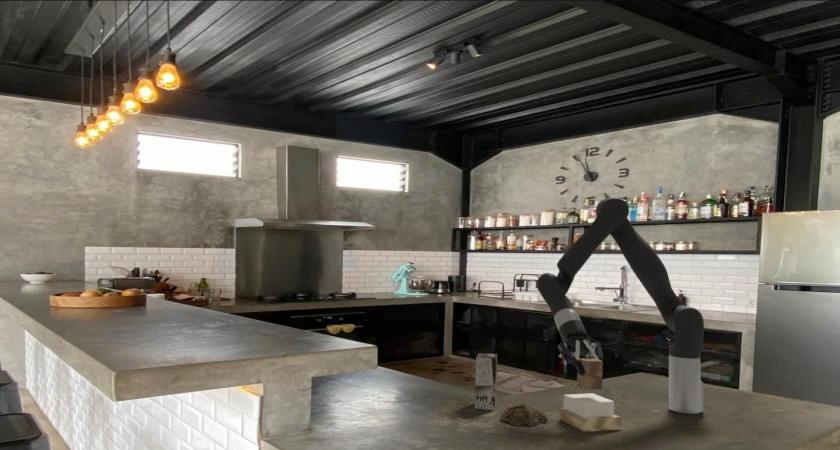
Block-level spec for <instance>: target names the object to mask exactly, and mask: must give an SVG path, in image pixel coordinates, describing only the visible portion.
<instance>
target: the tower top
mask: <svg viewBox="0 0 840 450" xmlns="http://www.w3.org/2000/svg"><path fill="white" fill-rule="evenodd" d="M563 408H564V409H566V410H568V411H570V412H572V413H574V414H577V415H579V416H581V417H583V418H588V417H604V416H614V414H615V401H614V400H612V399H608V398H606V397H603V396H601V395H598V394H596V393H593V392H591V393H576V394H575V393H573V394H572V393H571V394H569V393H568V394H563Z"/></svg>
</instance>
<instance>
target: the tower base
mask: <svg viewBox="0 0 840 450" xmlns="http://www.w3.org/2000/svg"><path fill="white" fill-rule="evenodd" d="M560 421H562V422H563V423H566V424H568V425H570V426H571V427H573V428H575V429H577V430H579V431H581V432H583V433H587V432H588V431H589V432H601V431H602V430H604V431H615V430H617V431H618V430H619V431H620V430H621V429H622V428H621V426H622V417H621V416H620V415H617V414H615V413H614V416H604V417H588V418H583V417H581V416H579V415H577V414H574V413H572V412H570V411H568V410H566V409H564V407H560ZM602 432H603V431H602Z"/></svg>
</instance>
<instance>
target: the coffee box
mask: <svg viewBox="0 0 840 450" xmlns="http://www.w3.org/2000/svg"><path fill="white" fill-rule="evenodd" d="M475 359H476V360H475V385H474V387H475V389H474V390H475V391H474V409H475V410H485V411H495V409H496V406H497V394H498V393H497V392H498V390H497V389H498V388H497V384H498V380H497V379H498V354H497V353H486V352H485V353H481V352H479V353H477V355H476V357H475Z"/></svg>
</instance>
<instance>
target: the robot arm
mask: <svg viewBox="0 0 840 450" xmlns="http://www.w3.org/2000/svg"><path fill="white" fill-rule="evenodd" d="M629 213H630V208H629V205H628V203H627V202H626V201H625V200H624V199H622V198H620V197H608V198H604V199H601V200H600V201H599V202H598V204H597V205H596V209H595V218H594V220H593V222H592V223H591V225H590V226H589V227H588V229H587V230H585V231H584V233H583V234H582V235H581V236H579V238H577V240H576V241H574V243H572V244H571V245H570V247H569V248H568V249H566V251H565V253H564V254H563V255H562V256H561V258H560V259H559V260H558V261H557V263H556V266H557V269H558V273H557V275H555V274H553V273H551V272H544V273H542V274H541V275H540V276H539V277H538V279H537V289H538V292H539V293H540V295H541V296H542V299H543V300H544V302H545V303H546V304H547V306H548V307H549V309H550V312H551V314H552V316H553V319H554V322H555V323H554V324H555V325H556V328H557V331H558V332H559V335H560V337H561V340H562V341H561V342H560V343H559V345H558V346H557V350H558V351H559V353H560V355H561V356H562V357H563V360H564V361H565V362H566V363H567V364H572V365H573V366H574V368H575V370H576V373H577V372H578V373H579V374H580V375H584V373H585V370H584V367H583V365H582V363H581V361H579V360H580V356H583V357H584V358H594V359H598V360H601V361H603V358H604V354H603V349H602V346H601V342H599V341H597V342H592V341H591V340H590V339H589V338H588V337H589V336H588V333H587V331H586V328H585V326H584V324H583V321H582V320H581V317H580V316H579V315H578V312H577V311H576V310H575V307H574V305H573V303H572V301H571V300H570V298H569V297H568V296H567V294H568V292H569V290H570V288H571V286H572V284H573V282H574V280H575V277H576V275H577V274H578V272H579V271H580V270H581V269H582V268H583V267H584V265H585V264H586V263H587V261H588V260H589V259H590V258H591V256H592V255H593V254H594V252H595V251H596V250H597V249H598V248H599V247H600V245H601V244H602V243H603V242H604V241H605V240H606V239H607V237H609V235H610V236H611V237H612V239H613V240H614V241H615V243H616V244H617V246H618V249H619V251H620V252H621V254H622V256H623V257H624V259H625V260H626V262H627V264H628V265H629V267H630V268H631V270H632V272H633V273H634V275H635V276H636V278H637V279H638V281H639V282H640V283H641V285H642V287H643V288H644V290H645V291H646V292H647V294H648V295H649V296H650V298H651V299H652V300H653V302H654V304H655V305H656V307H657V310H658V311H659V313H660V315H661V317H662V319H663V321H664V322H665V325H666V327H668V329H669V330H670V331H671V332H673V333H674V336H673V337H674V338H673V339H674V340H673V343H672V344H671V345H670V346H669V348H668V409H669V410H670V411H673V412H676V413H680V414H687V415H698V414H700V413H704V382H703V381H702V380H701V352H702V350H703V348H704V337H705V336H704V335H705V334H704V333H705V323H704V322H705V321H704V317H703V315H702V313H701V312H700V311H699V310H698V309H696V308H695V307H691V306H687V305H685V304H684V303H683V302H682V301H681V299H680V298H679V297H678V295H677V294H676V293H675V291H674V289H673V288H672V284H671V280H670V278H669V274H668V270H667V268H666V266H665V264H664V263H663V261H662V260H661V258H660V257H659V255H658V253H657V252H656V251H655V250H654V248H653V247H652V246H651V245H650V244H649V243H648V242H647V241H646V240H645V239H644V238H643V237H642V236H641V234H639V232H637V231H636V229H635V228H634V226H633V225H632V223H631V221H630V220H629V218H628V217H629V215H630V214H629ZM603 370H604V369H603V368H602V372H603Z"/></svg>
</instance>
